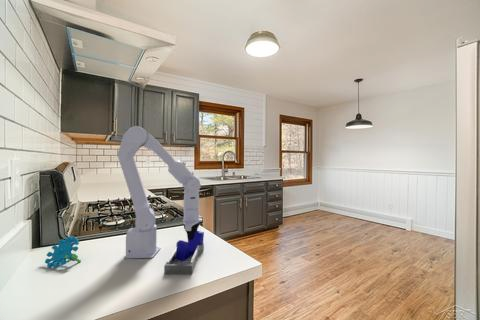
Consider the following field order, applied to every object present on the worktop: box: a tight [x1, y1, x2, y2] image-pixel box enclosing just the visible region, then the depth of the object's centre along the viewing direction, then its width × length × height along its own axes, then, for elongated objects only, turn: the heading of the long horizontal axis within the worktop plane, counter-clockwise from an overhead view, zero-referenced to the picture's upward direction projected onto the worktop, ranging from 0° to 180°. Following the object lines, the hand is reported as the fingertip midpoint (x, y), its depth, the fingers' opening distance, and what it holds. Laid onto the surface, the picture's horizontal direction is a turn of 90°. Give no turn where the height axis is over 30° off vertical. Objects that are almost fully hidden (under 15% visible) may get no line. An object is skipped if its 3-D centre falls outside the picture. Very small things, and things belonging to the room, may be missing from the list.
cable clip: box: [176, 230, 205, 262], centre depth 79 cm, size 12×4×6 cm, turn 159°
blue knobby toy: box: [44, 236, 82, 269], centre depth 72 cm, size 11×6×10 cm
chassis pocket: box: [163, 242, 205, 275], centre depth 74 cm, size 10×17×3 cm, turn 1°
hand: (191, 243), depth 85 cm, fingers closed, pressing on cable clip
